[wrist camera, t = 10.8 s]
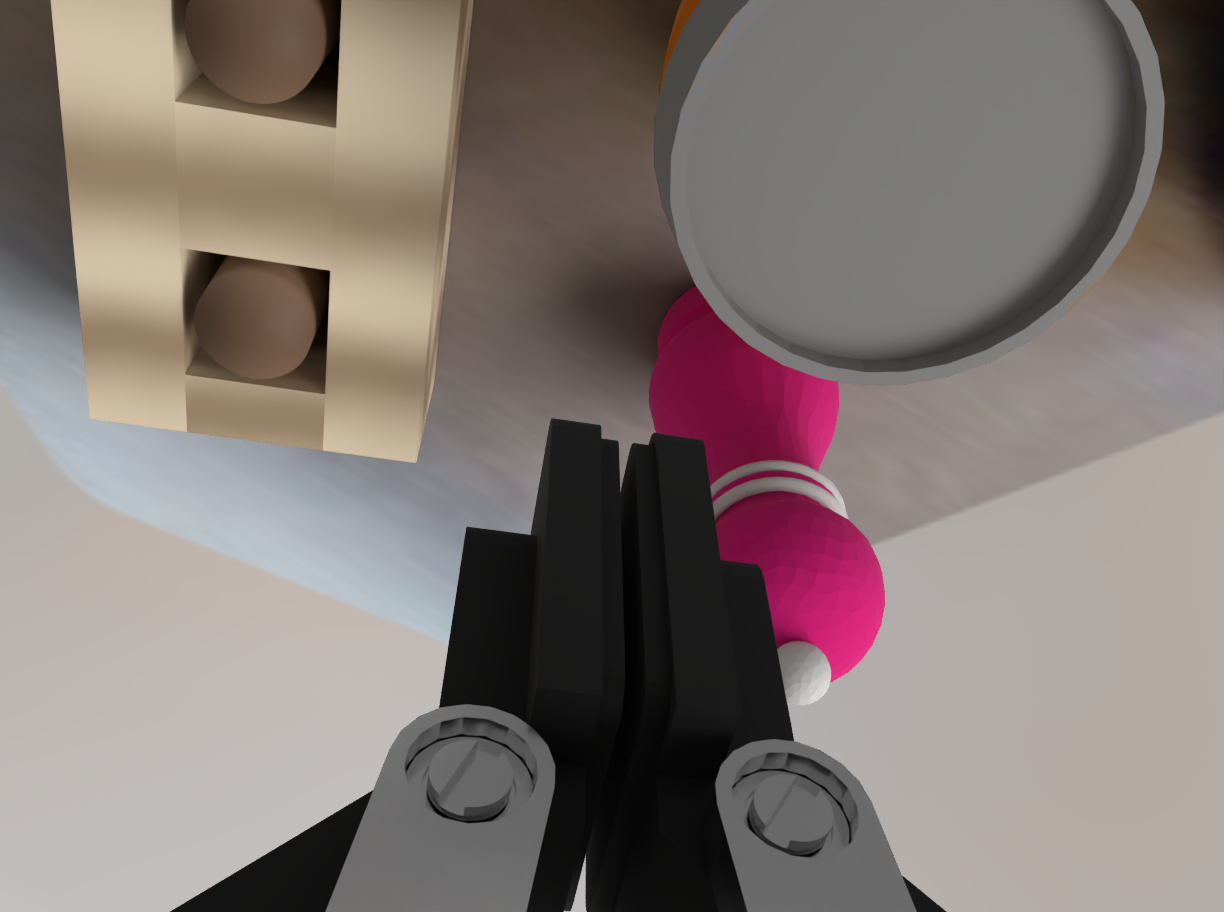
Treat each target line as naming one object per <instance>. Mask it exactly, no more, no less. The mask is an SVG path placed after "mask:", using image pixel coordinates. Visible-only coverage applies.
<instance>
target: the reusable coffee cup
mask: <svg viewBox="0 0 1224 912" xmlns="http://www.w3.org/2000/svg"><path fill="white" fill-rule="evenodd" d="M1164 105H1165V101H1164V94H1163V88H1162V82H1161V75H1160V69H1159V62H1158V56H1157V53H1156V51H1155V48H1154V46H1153V43H1152V41H1151V39H1150V36H1149V34H1148V31H1147V29H1146V26H1145V24H1144V21H1143V19H1142V17H1141V14H1140V12H1139V10H1138V9H1137V8H1136V6H1135V5H1134V4H1133V2H1132V1H1131V0H682V1H681V4H680V6H679V9H678V11H677V14H676V18H675V21H674V25H673V28H672V32H671V35H670V39H669V42H668V47H667V51H666V56H665V61H664V66H663V71H662V75H661V80H660V85H659V100H658V105H657V109H656V114H655V119H654V167H655V172H656V177H657V182H658V187H659V192H660V197H661V202H662V207H663V210H664V212H665V214H666V217H667V219H668V222H669V224H670V226H671V229H672V231H673V234H674V236H675V238H676V241H677V243H678V246H679V248H680V250H681V253H682V255H683V257H684V260H685V262H686V264H687V267H688V269H689V271H690V274H691V276H692V278H693V281H694V283H695V285H696V286H697V288H698V289H699V291H700V292H701V293H702V295H703V296H704V298H705V299H706V300H707V302H708V303H709V305H710V306H711V307H712V309H713V310H714V312H715V313H716V314H717V316H718V317H719V318H720V319H721V320H722V321H723V322H724V323H725V324H726V325H728V326H729V327H730V328H731V329H732V330H733V331H734V332H735V333H736V334H737V335H738V336H740V337H741V338H742V339H743V340H744V341H745V342H746V343H747V344H748V345H750V346H752V347H753V348H755V349H757V350H758V351H760V352H762V353H763V354H765V355H767V356H769V357H770V358H772V359H774V360H775V361H777V362H779V363H780V364H782V365H784V366H787V367H790V368H793V369H795V370H798V371H801V372H804V373H807V374H810V375H812V376H815V377H818V378H821V379H826V380H833V381H839V382H845V383H852V384H858V385H906V384H911V383H917V382H922V381H928V380H933V379H939V378H944V377H949V376H952V375H955V374H958V373H960V372H963V371H966V370H969V369H972V368H975V367H977V366H980V365H983V364H986V363H989V362H991V361H993V360H995V359H997V358H999V357H1001V356H1003V355H1004V354H1006V353H1008V352H1010V351H1012V350H1014V349H1016V348H1018V347H1019V346H1021V345H1023V344H1025V343H1027V342H1029V341H1031V340H1032V339H1033V338H1035V337H1036V336H1037V335H1039V334H1040V333H1041V332H1043V331H1044V330H1045V329H1047V328H1048V327H1049V326H1051V325H1052V324H1053V323H1055V322H1056V321H1057V320H1059V319H1060V318H1061V317H1063V316H1064V315H1065V314H1067V313H1068V312H1069V311H1070V310H1071V309H1072V308H1073V307H1074V306H1075V305H1076V304H1077V303H1078V302H1079V301H1080V300H1081V299H1082V298H1083V297H1084V296H1085V295H1086V294H1087V293H1088V292H1089V291H1090V290H1091V289H1092V288H1093V286H1094V285H1095V284H1096V283H1097V282H1098V281H1099V280H1100V279H1101V278H1102V277H1103V276H1104V274H1105V273H1106V271H1107V270H1108V268H1109V267H1110V266H1111V264H1112V263H1113V261H1114V260H1115V258H1116V257H1117V256H1118V254H1119V253H1120V251H1121V250H1122V248H1123V247H1124V245H1125V244H1126V243H1127V241H1128V240H1129V238H1130V236H1131V234H1132V232H1133V230H1134V228H1135V225H1136V223H1137V221H1138V219H1139V217H1140V215H1141V213H1142V211H1143V208H1144V206H1145V204H1146V202H1147V200H1148V198H1149V196H1150V192H1151V189H1152V185H1153V181H1154V177H1155V173H1156V170H1157V166H1158V162H1159V158H1160V154H1161V151H1162V139H1163V122H1164Z"/></svg>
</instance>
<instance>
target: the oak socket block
mask: <svg viewBox="0 0 1224 912" xmlns="http://www.w3.org/2000/svg"><path fill="white" fill-rule="evenodd" d="M473 1H474V0H342V3H341V27H340V51H339V68H334V67H329V66H323V65H321V66H320V68H319V69H318V71H317V72H316V73H315V75H314V76H313V78H312V79H311V81H310V82H309V83H308V84H307V86H306V87H305V88H304V89H303V90H302V91H301V92H299V93H298V94H296V95H295V96H293V97H291V98H289V99H287V100H285V101H281V102H278V103H272V104H256V103H250V102H246V101H243V100H240V99H237V98H235V97H233V96H231V95H229V94H227V93H225V92H224V91H222V90H221V89H219V88H218V87H217V86H215V85H214V84H213V83H212V82H211V81H210V80H209V79H208V78H207V77H206V76H205V75H204V74H203V72H202V71H201V70H200V68H199V67H198V65H197V64H196V62H195V60H194V58H193V56H192V54H191V52H190V49H189V46H188V43H187V39H186V34H185V14H186V8H187V5H188V2H189V0H51V9H52V19H53V30H54V41H55V51H56V62H57V73H58V84H59V94H60V105H61V116H62V126H63V137H64V148H65V158H66V169H67V180H68V190H69V201H70V212H71V222H72V233H73V244H74V254H75V265H76V276H77V286H78V297H79V308H80V318H81V329H82V340H83V350H84V361H85V372H86V382H87V393H88V404H89V414H90V419H95V420H103V421H110V422H117V423H125V424H132V425H140V426H147V427H154V428H162V429H169V430H176V431H184V432H191V433H199V434H206V435H213V436H221V437H228V438H236V439H243V440H250V441H258V442H265V443H272V444H280V445H287V446H295V447H302V448H309V449H317V450H324V451H332V452H339V453H346V454H354V455H361V456H368V457H376V458H383V459H391V460H398V461H405V462H413V463H416V461H417V456H418V452H419V447H420V443H421V439H422V434H423V430H424V425H425V421H426V417H427V412H428V408H429V403H430V399H431V394H432V390H433V386H434V380H435V370H436V361H437V351H438V341H439V332H440V322H441V312H442V302H443V293H444V283H445V273H446V264H447V254H448V244H449V234H450V225H451V215H452V205H453V196H454V186H455V176H456V166H457V157H458V147H459V137H460V128H461V118H462V108H463V99H464V89H465V79H466V69H467V60H468V50H469V40H470V31H471V21H472V11H473ZM227 255H230V256H237V257H244V258H250V259H257V260H263V261H270V262H277V263H283V264H290V265H296V266H303V267H309V268H316V269H323V270H329V271H330V291H329V314H325V313H324V315H323V318H322V320H321V322H320V325H319V327H318V329H317V332H316V334H315V337H314V339H313V341H312V344H311V346H310V348H309V351H308V353H307V355H306V357H305V359H304V360H303V362H302V363H301V364H300V365H299V366H298V367H297V368H295V369H294V370H293V371H291V372H289V373H288V374H285V375H283V376H280V377H276V378H270V379H253V378H248V377H244V376H240V375H237V374H235V373H233V372H230V371H229V370H227V369H225V368H223V367H222V366H221V365H219V364H218V363H217V362H215V361H214V360H213V359H212V358H211V357H210V356H209V355H208V354H207V352H206V351H205V350H204V348H203V347H202V345H201V343H200V342H199V340H198V337H197V335H196V331H195V326H194V313H195V308H196V305H197V303H198V301H199V299H200V297H201V296H202V294H203V293H204V291H205V289H206V288H207V286H208V285H209V283H210V281H211V280H212V278H213V277H214V275H215V273H216V272H217V270H218V269H219V267H220V265H221V264H222V262H223V261H224V259H225V258H226V256H227Z"/></svg>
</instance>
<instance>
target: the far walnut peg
mask: <svg viewBox="0 0 1224 912" xmlns="http://www.w3.org/2000/svg"><path fill="white" fill-rule="evenodd" d="M329 291H330V271H329V270H323V269H316V268H309V267H303V266H296V265H290V264H283V263H277V262H270V261H263V260H257V259H250V258H244V257H237V256H230V255H227V256H226V258H225V259H224V261H223V262H222V264H221V265H220V267H219V269H218V270H217V272H216V273H215V275H214V277H213V278H212V280H211V281H210V283H209V285H208V286H207V288H206V289H205V291H204V293H203V294H202V296H201V297H200V299H199V301H198V303H197V305H196V308H195V313H194V326H195V331H196V335H197V337H198V340H199V342H200V343H201V345H202V347H203V348H204V350H205V351H206V352H207V354H208V355H209V356H210V357H211V358H212V359H213V360H214V361H215V362H217V363H218V364H219V365H221V366H222V367H223V368H225V369H227V370H229V371H230V372H233V373H235V374H237V375H240V376H244V377H248V378H253V379H270V378H276V377H280V376H283V375H285V374H288V373H289V372H291V371H293V370H294V369H295V368H297V367H298V366H299V365H300V364H301V363H302V362H303V360H304V359H305V357H306V355H307V353H308V351H309V348H310V346H311V344H312V341H313V339H314V337H315V334H316V332H317V329H318V327H319V325H320V322H321V320H322V318H323V315H324V313H325V310H326V308H327V306H328V303H329Z"/></svg>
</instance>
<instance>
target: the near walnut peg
mask: <svg viewBox="0 0 1224 912" xmlns="http://www.w3.org/2000/svg"><path fill="white" fill-rule="evenodd" d="M341 3H342V0H189V2H188V5H187V8H186V14H185V34H186V39H187V43H188V46H189V49H190V52H191V54H192V56H193V58H194V60H195V62H196V64H197V65H198V67H199V68H200V70H201V71H202V72H203V74H204V75H205V76H206V77H207V78H208V79H209V80H210V81H211V82H212V83H213V84H214V85H215V86H217V87H218V88H219V89H221V90H222V91H224V92H225V93H227V94H229V95H231V96H233V97H235V98H237V99H240V100H243V101H246V102H250V103H256V104H272V103H278V102H281V101H285V100H287V99H289V98H291V97H293V96H295V95H296V94H298V93H299V92H301V91H302V90H303V89H304V88H305V87H306V86H307V84H308V83H309V82H310V81H311V79H312V78H313V76H314V75H315V73H316V72H317V71H318V69H319V68H320V66H321V65H322V63H323V62H324V60H325V59H326V57H327V56H328V55H329V53H330V52H331V50H332V49H333V47H334V46H335V44H336V43H337V42H338V40H339V39H340V27H341Z"/></svg>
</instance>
